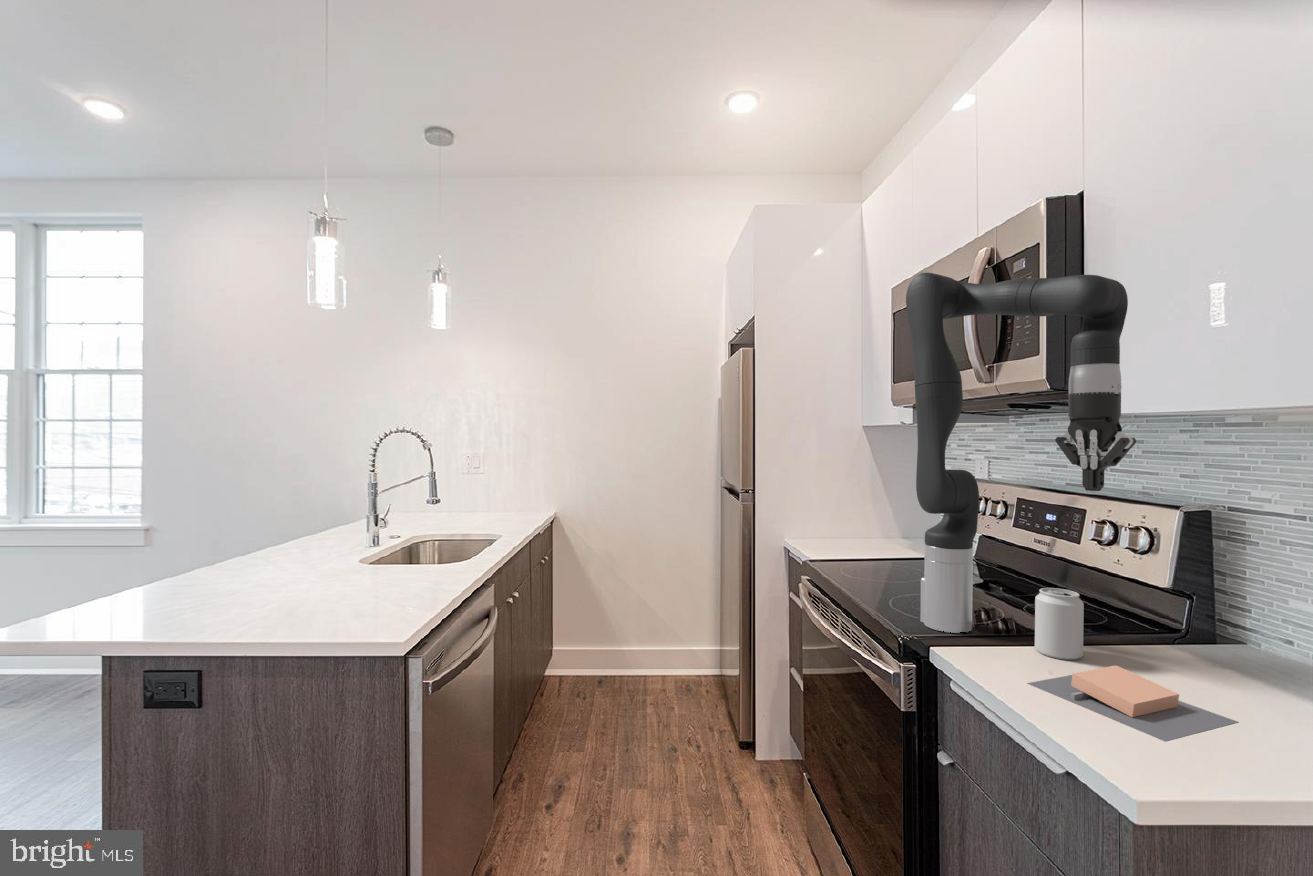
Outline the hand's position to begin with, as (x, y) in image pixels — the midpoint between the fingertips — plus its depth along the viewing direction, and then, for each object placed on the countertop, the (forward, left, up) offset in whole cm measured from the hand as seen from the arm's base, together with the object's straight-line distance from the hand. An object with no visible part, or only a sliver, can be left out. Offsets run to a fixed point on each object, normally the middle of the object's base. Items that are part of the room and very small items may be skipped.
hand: (1093, 490), depth 108 cm
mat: (+12, -10, -31) cm, 35 cm away
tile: (+7, -10, -28) cm, 31 cm away
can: (-6, 0, -31) cm, 32 cm away
